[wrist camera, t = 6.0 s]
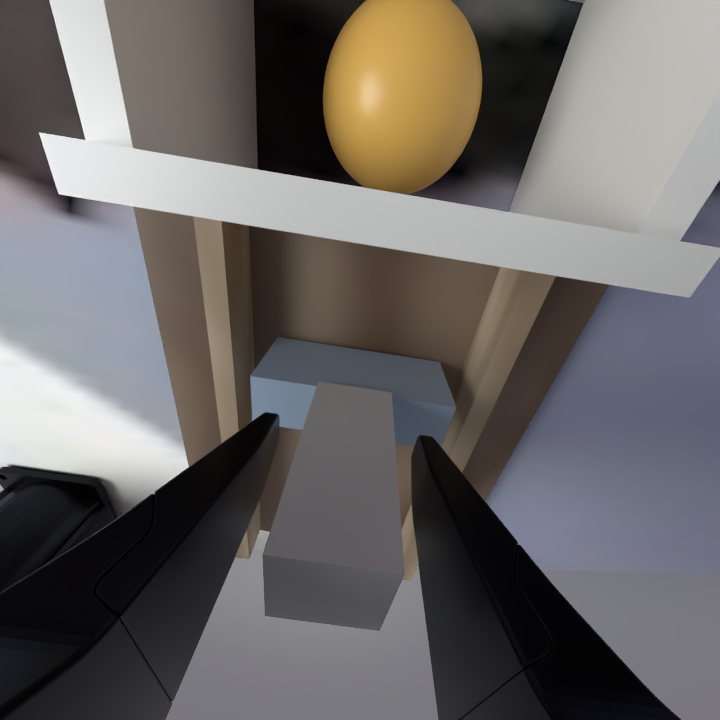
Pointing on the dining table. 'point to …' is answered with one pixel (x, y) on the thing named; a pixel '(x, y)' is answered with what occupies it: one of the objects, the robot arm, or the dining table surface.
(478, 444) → the board
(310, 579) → the striker
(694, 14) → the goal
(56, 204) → the dining table surface
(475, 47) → the ball
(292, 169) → the dining table surface
